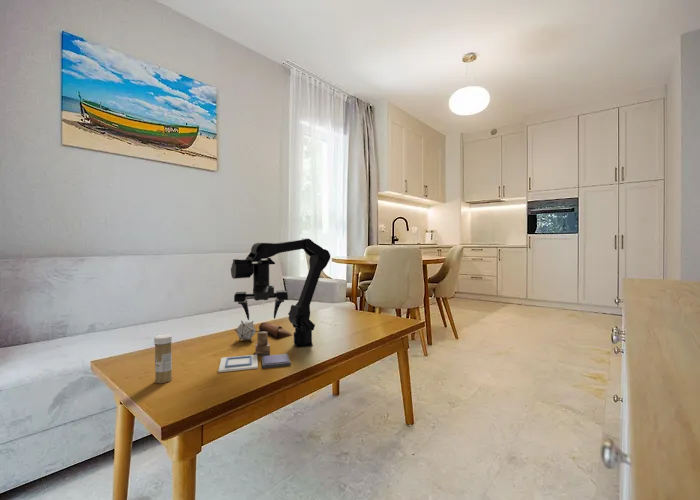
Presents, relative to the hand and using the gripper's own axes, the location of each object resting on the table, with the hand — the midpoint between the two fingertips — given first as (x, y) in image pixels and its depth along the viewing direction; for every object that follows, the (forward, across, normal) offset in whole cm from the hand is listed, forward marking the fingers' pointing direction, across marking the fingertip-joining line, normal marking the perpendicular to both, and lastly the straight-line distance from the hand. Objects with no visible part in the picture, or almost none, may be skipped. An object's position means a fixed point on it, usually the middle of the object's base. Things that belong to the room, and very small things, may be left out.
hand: (261, 319), depth 125 cm
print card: (+12, -8, -9) cm, 17 cm away
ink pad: (+12, +4, -11) cm, 17 cm away
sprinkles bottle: (+13, -28, -18) cm, 36 cm away
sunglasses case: (+13, +6, +26) cm, 30 cm away
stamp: (+12, 0, 0) cm, 13 cm away
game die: (+13, -6, +18) cm, 23 cm away
